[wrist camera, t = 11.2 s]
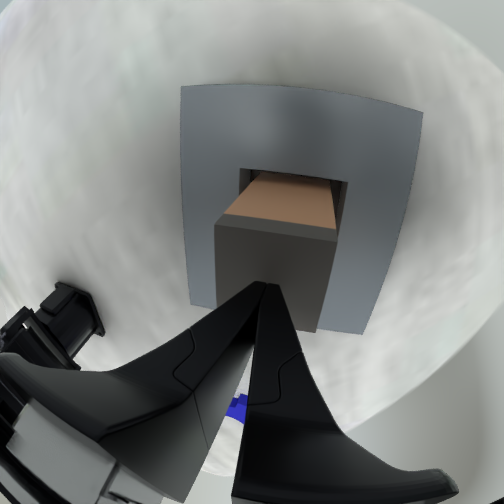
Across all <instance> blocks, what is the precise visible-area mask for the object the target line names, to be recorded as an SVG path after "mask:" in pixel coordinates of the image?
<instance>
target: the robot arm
mask: <svg viewBox="0 0 504 504" xmlns="http://www.w3.org/2000/svg"><path fill="white" fill-rule="evenodd" d="M55 288H56V290H55V291H53V292H52V293H51V294H50V295H49V296H48V297H47V298H46V299H45V300H44V301H43V302H42V303H41V304H40V307H41V308H40V309H39V310H38V311H37V312H36V313H34V311H33V309H32V308H31V309H30V310H29V309H28V308H26V307H25V306H24V307H23V308H22V309H20V310H19V311H18V312H17V313H16V314H15V315H14V316H13V317H12V318H11V319H10V320H9V321H8V322H7V323H6V324H5V325H4V326H3V327H2V328H1V329H0V492H1V493H2V494H3V495H4V496H5V497H6V498H7V499H8V500H9V501H10V502H11V503H12V504H160V503H161V501H162V499H163V497H167V498H169V499H172V500H174V501H177V502H180V503H184V501H185V500H186V497H187V496H188V494H189V492H190V490H191V487H192V486H193V484H194V481H195V479H196V477H197V475H198V473H199V471H200V469H201V467H202V465H203V463H204V461H205V459H206V456H207V454H208V452H209V450H210V448H211V446H212V443H213V441H214V439H215V437H216V435H217V432H218V430H219V428H220V426H221V424H222V421H223V419H224V417H225V415H226V412H227V410H228V408H229V405H230V403H231V401H232V399H233V396H234V394H235V392H236V389H237V387H238V385H239V382H240V380H241V378H242V375H243V373H244V370H245V368H246V366H247V363H248V361H249V358H250V356H251V353H252V351H253V348H254V351H253V359H252V367H251V375H250V383H249V391H248V399H247V408H246V414H245V421H244V428H243V433H242V439H241V445H240V450H239V456H238V462H237V467H236V473H235V479H234V483H233V489H232V493H231V499H232V504H437V503H439V502H442V501H444V500H446V499H449V498H451V497H453V496H455V495H457V494H458V493H459V489H458V486H457V484H456V483H455V481H454V480H453V479H452V478H451V477H450V476H449V475H448V474H447V473H445V472H444V471H443V470H441V469H428V470H420V471H404V470H400V469H397V468H394V467H392V466H390V465H388V464H387V463H385V462H383V461H382V460H381V459H379V458H377V457H376V456H375V455H373V454H372V453H370V452H368V451H367V450H366V449H364V448H363V447H362V446H360V445H359V444H357V443H356V442H354V441H353V440H352V439H350V438H349V437H348V436H346V435H345V434H344V433H343V431H342V430H341V429H340V428H339V426H338V425H337V423H336V422H335V420H334V418H333V416H332V414H331V412H330V410H329V408H328V407H327V405H326V403H325V401H324V399H323V397H322V395H321V393H320V391H319V389H318V387H317V385H316V383H315V381H314V379H313V377H312V375H311V373H310V370H309V367H308V365H307V362H306V359H305V356H304V353H303V352H302V348H301V345H300V342H299V339H298V336H297V333H296V330H295V327H294V324H293V322H292V319H291V316H290V313H289V310H288V307H287V304H286V301H285V299H284V296H283V293H282V290H281V287H280V285H279V284H274V283H268V284H267V283H266V282H262V281H254V282H252V283H251V284H249V285H248V286H247V287H245V288H244V289H243V290H241V291H240V292H238V293H237V294H236V295H234V296H233V297H231V298H230V299H229V300H227V301H226V302H225V303H223V304H222V305H220V306H219V307H218V308H216V309H215V310H213V311H212V312H211V313H209V314H208V315H206V316H205V317H203V318H202V319H201V320H199V321H198V322H196V323H195V324H194V325H192V326H191V327H190V328H188V329H186V330H185V331H183V332H182V333H181V334H179V335H177V336H176V337H174V338H173V339H171V340H170V341H168V342H167V343H165V344H163V345H161V346H159V347H158V348H156V349H154V350H152V351H150V352H148V353H147V354H145V355H143V356H141V357H139V358H137V359H135V360H133V361H131V362H129V363H127V364H125V365H123V366H121V367H119V368H116V369H113V370H109V371H102V372H98V371H80V369H81V367H80V366H79V365H78V364H76V363H75V362H74V361H73V358H74V357H75V356H76V354H77V353H78V352H79V351H80V349H81V348H82V347H83V346H84V344H85V343H86V342H87V341H88V340H89V338H90V337H91V336H92V335H93V334H97V335H99V336H101V337H103V336H104V335H105V332H104V330H103V327H102V325H101V322H100V320H99V317H98V315H97V312H96V309H95V307H94V304H93V301H92V298H91V296H90V295H89V294H88V293H85V292H82V291H80V290H77V289H74V288H72V287H69V286H67V285H64V284H61V283H59V282H57V283H56V284H55ZM23 323H24V324H25V325H26V326H27V329H26V328H25V327H24V326H23ZM490 504H504V497H503V498H501V499H499V500H497V501H494V502H492V503H490Z"/></svg>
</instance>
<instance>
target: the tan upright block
mask: <svg viewBox="0 0 504 504" xmlns="http://www.w3.org/2000/svg"><path fill="white" fill-rule="evenodd" d="M337 243H338V240H337V231H336V223H335V215H334V208H333V200H332V194H331V187H330V181H329V180H325V179H319V178H312V177H305V176H297V175H289V174H281V173H272V172H263V171H261V173H260V174H259V175H258V176H257V177H256V178H255V179H254V180H253V181H252V182H251V183H250V184H249V186H248V187H247V188H246V189H245V190H244V191H243V192H242V193H241V194H240V196H239V197H238V198H237V199H236V200H235V201H234V202H233V203H232V204H231V206H230V207H229V208H228V209H227V210H226V211H225V212H224V213H223V215H222V216H221V217H220V218H219V219H218V220H217V221H216V223H215V224H214V251H215V282H216V305H217V308H218V307H219V306H220V305H222V304H223V303H225V302H226V301H227V300H229V299H230V298H231V297H233V296H234V295H236V294H237V293H238V292H240V291H241V290H243V289H244V288H245V287H247V286H248V285H249V284H251V283H252V282H254V281H262V282H266V283H267V284H268V283H274V284H279V285H280V287H281V290H282V293H283V296H284V299H285V301H286V304H287V307H288V310H289V313H290V316H291V319H292V322H293V324H294V327H295V330H299V331H306V332H313V333H315V332H316V329H317V325H318V322H319V318H320V314H321V311H322V307H323V303H324V299H325V295H326V291H327V287H328V283H329V279H330V275H331V271H332V266H333V262H334V257H335V253H336V248H337Z"/></svg>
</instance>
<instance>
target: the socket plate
mask: <svg viewBox="0 0 504 504" xmlns="http://www.w3.org/2000/svg"><path fill="white" fill-rule="evenodd" d="M422 118H423V112H420V111H417V110H414V109H410V108H407V107H403V106H399V105H396V104H392V103H388V102H384V101H380V100H375V99H371V98H366V97H361V96H356V95H351V94H345V93H339V92H333V91H326V90H319V89H310V88H301V87H291V86H277V85H256V84H215V85H194V86H181V114H180V147H181V187H182V208H183V225H184V240H185V252H186V264H187V275H188V285H189V294H190V303H191V304H192V305H196V306H200V307H205V308H209V309H214V310H215V309H216V308H217V305H216V282H215V251H214V224H215V223H216V221H217V220H218V219H219V218H220V217H221V216H222V215H223V213H224V212H225V211H226V210H227V209H228V208H229V207H230V206H231V204H232V203H233V202H234V201H235V200H236V199H237V198H238V197H239V196H240V194H241V193H242V192H243V191H244V190H245V189H246V188H247V187H248V186H249V184H250V173H251V169H257V170H267V171H276V172H284V173H292V174H299V175H307V176H313V177H320V178H326V179H333V180H339V181H342V186H341V192H340V198H339V204H338V210H337V216H336V221H335V223H336V231H337V240H338V243H337V248H336V253H335V257H334V262H333V266H332V271H331V275H330V279H329V283H328V287H327V291H326V295H325V299H324V303H323V307H322V311H321V314H320V318H319V322H318V325H317V329H323V330H330V331H337V332H344V333H352V334H360V335H363V332H364V330H365V328H366V325H367V323H368V321H369V318H370V316H371V314H372V311H373V309H374V306H375V304H376V301H377V298H378V296H379V293H380V290H381V288H382V285H383V282H384V279H385V277H386V274H387V271H388V268H389V265H390V262H391V259H392V256H393V253H394V249H395V246H396V243H397V239H398V236H399V233H400V229H401V225H402V222H403V218H404V214H405V210H406V206H407V202H408V198H409V194H410V189H411V185H412V180H413V175H414V170H415V165H416V159H417V153H418V147H419V141H420V134H421V126H422Z"/></svg>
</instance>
